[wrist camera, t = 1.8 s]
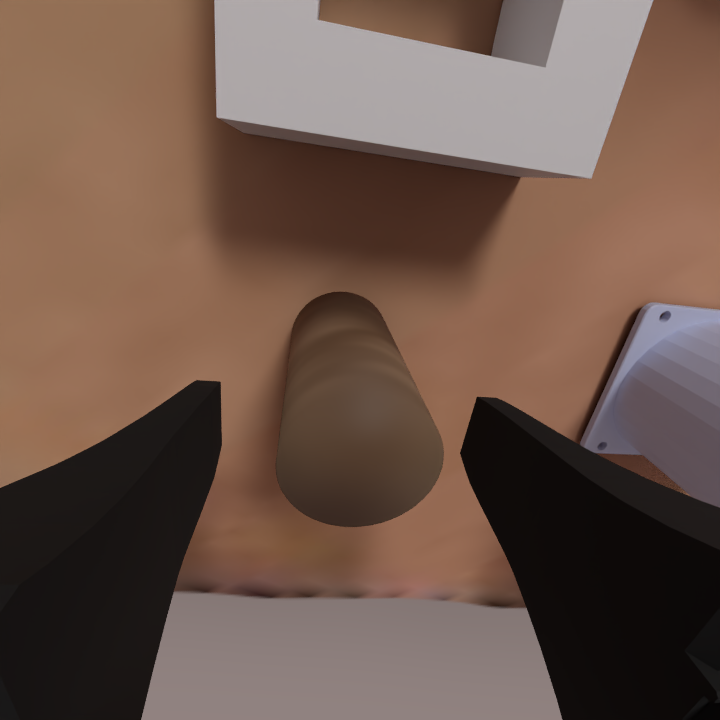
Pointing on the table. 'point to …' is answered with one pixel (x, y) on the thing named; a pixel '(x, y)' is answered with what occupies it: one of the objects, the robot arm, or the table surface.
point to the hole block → (432, 84)
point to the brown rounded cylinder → (352, 419)
